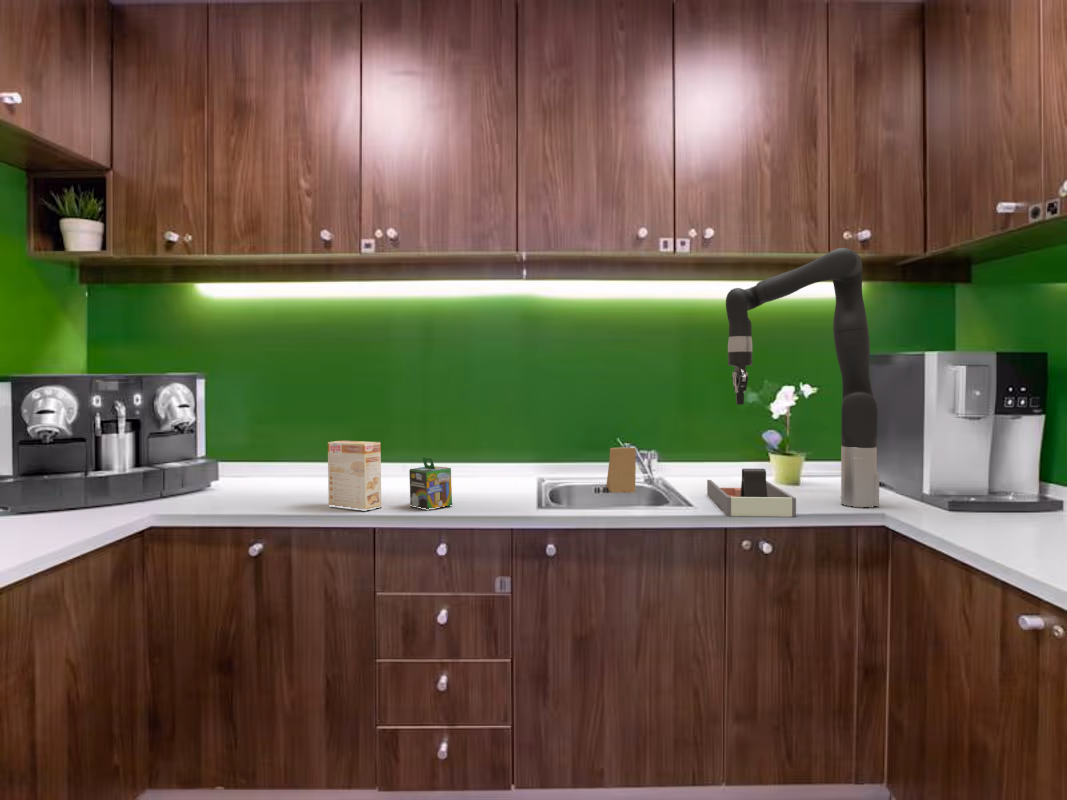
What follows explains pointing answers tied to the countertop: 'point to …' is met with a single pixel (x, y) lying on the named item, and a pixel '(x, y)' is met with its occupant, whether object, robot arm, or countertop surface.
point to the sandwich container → (622, 470)
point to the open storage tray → (752, 502)
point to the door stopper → (753, 483)
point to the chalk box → (430, 486)
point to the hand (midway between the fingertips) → (739, 404)
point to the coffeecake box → (354, 474)
